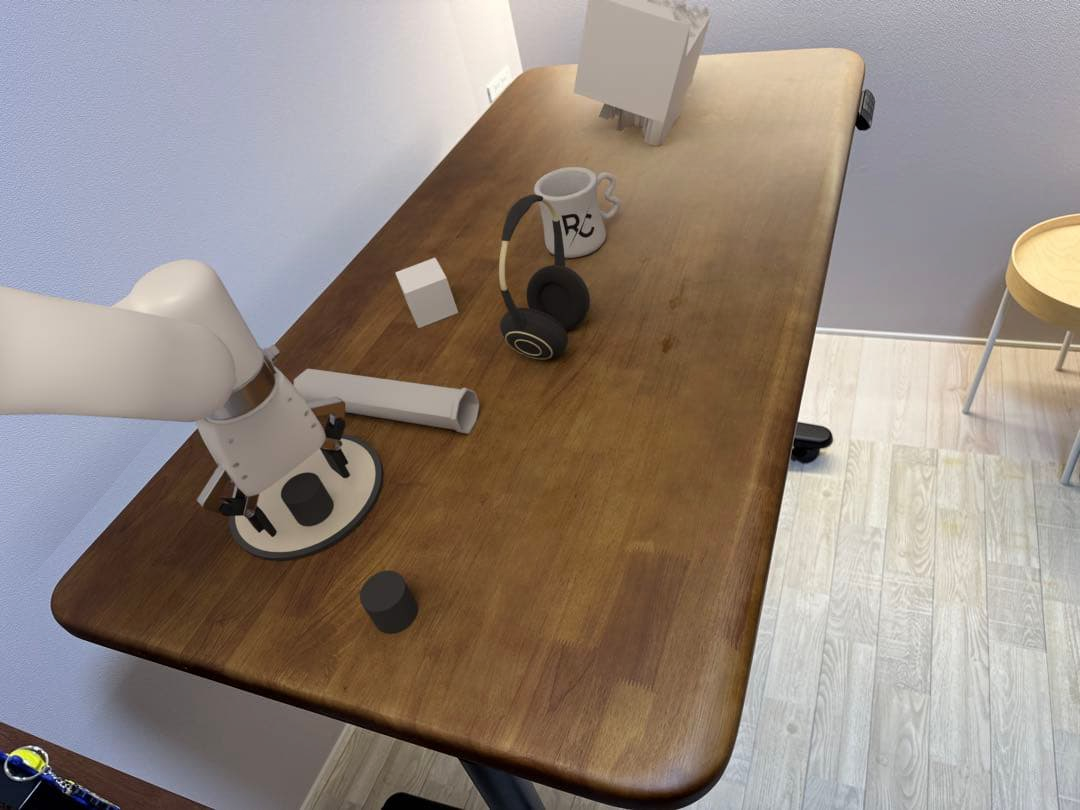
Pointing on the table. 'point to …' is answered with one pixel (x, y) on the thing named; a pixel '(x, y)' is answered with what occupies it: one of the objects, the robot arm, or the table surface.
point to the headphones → (542, 295)
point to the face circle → (348, 512)
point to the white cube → (427, 292)
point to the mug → (575, 208)
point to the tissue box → (640, 61)
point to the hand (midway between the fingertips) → (305, 500)
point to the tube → (393, 399)
